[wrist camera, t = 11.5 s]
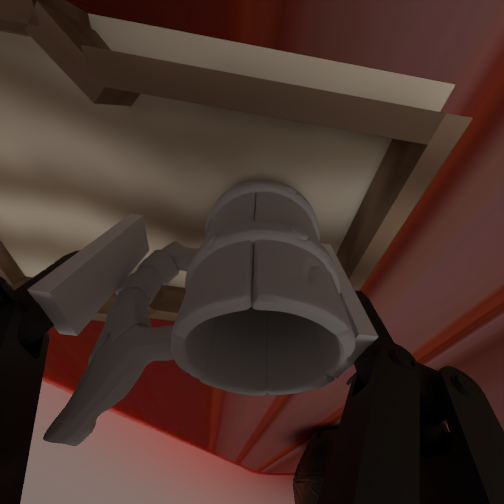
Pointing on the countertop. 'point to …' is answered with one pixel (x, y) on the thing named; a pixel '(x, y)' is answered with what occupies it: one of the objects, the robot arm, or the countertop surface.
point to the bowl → (313, 467)
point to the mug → (226, 310)
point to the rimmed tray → (197, 139)
